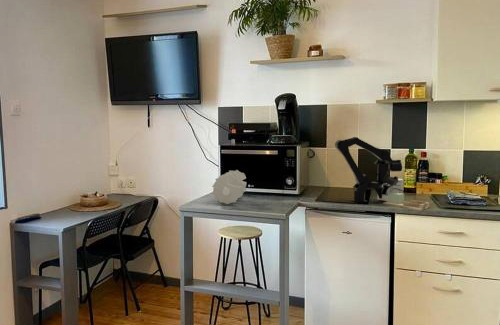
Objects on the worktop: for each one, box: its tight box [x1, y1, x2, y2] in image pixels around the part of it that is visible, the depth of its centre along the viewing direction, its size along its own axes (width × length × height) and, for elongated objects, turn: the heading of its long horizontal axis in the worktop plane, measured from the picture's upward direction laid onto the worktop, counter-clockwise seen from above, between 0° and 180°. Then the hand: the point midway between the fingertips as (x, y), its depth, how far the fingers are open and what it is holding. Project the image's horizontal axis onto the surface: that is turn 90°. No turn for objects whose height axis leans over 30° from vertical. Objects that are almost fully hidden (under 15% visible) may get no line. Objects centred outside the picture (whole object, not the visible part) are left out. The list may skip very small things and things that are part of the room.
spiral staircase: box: [212, 169, 247, 205], centre depth 232 cm, size 18×18×25 cm
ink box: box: [386, 178, 404, 195], centre depth 236 cm, size 9×5×12 cm, turn 62°
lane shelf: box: [382, 199, 431, 212], centre depth 215 cm, size 12×21×3 cm, turn 40°
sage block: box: [376, 192, 405, 204], centre depth 223 cm, size 5×15×5 cm, turn 40°
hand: (382, 198), depth 227 cm, fingers open, 3 cm apart
